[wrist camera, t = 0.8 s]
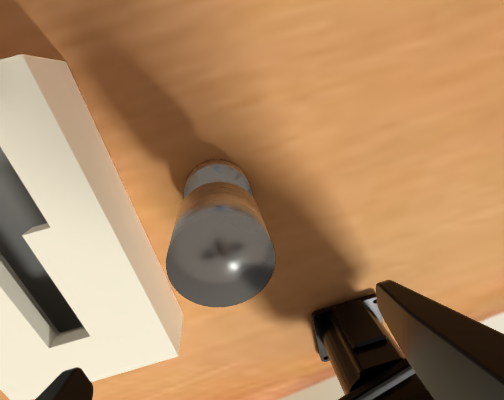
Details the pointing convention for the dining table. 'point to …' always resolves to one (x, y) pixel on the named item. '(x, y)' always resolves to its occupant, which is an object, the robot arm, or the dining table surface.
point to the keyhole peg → (219, 239)
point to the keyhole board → (70, 243)
